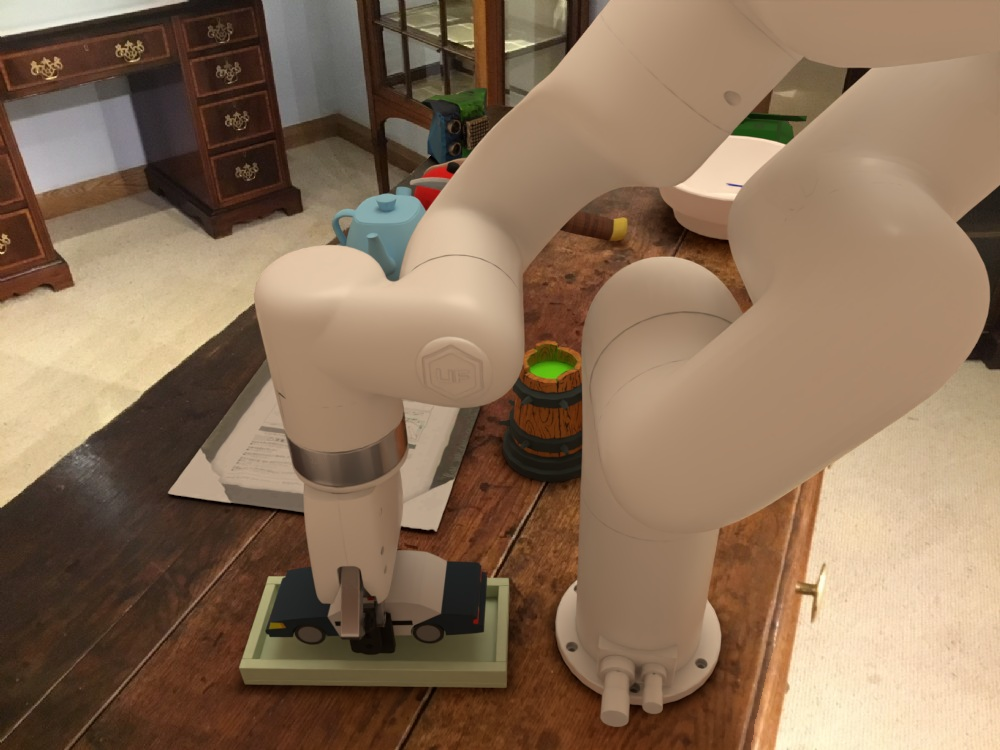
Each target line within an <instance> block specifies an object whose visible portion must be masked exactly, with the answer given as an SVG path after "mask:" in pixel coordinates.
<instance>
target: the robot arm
mask: <svg viewBox="0 0 1000 750" xmlns="http://www.w3.org/2000/svg"><path fill="white" fill-rule="evenodd" d="M803 58H805V59H807V60H808V61H811V62H815V63H819V64H822V65H827V66H830V67H834V68H843V69H869V70H868V71H867V72H865V74H863V75H862V76H861V77H860V78H859V79H858V80H857V81H856V82H855V83H853V84H852V85H851V86H850V87H849V88H848V89H847V90H845V91H844V92H843V93H842V94H841V95H840V96H839V97H838V98H837V99H835V100H834V101H833V102H832V103H831V104H830V105H829V106H827V108H825V109H824V111H822V112H821V113H819V114H818V116H816V117H815V118H814V119H813V120H812V121H811V122H809V124H807V126H805V127H804V128H802V130H801V131H799V133H798V134H796V135H795V136H794V138H793V139H792V140H791V141H790V142H789V143H788V144H786V145H785V146H784V147H783V148H782V149H781V150H780V151H779V152H777V153H776V154H775V155H774V156H773V157H772V158H771V159H770V160H768V161H767V162H766V163H765V164H764V165H763V166H762V167H761V168H760V169H759V170H758V171H757V172H755V173H754V174H753V175H752V176H751V177H750V178H749V179H748V181H747V182H746V183H745V184H744V185H743V186H742V188H741V189H740V191H739V192H738V194H737V195H736V197H735V199H734V201H733V203H732V206H731V209H730V212H729V216H728V227H727V232H728V240H727V241H728V244H729V248H730V252H731V256H732V258H733V262H734V265H735V266H736V269H737V271H738V274H739V277H740V279H741V280H742V284H743V286H744V288H745V290H746V292H747V295H748V296H749V298H750V301H751V303H752V306H751V307H749V308H748V309H747V310H746V311H745V312H744V313H743V311H742V309H741V307H740V305H739V303H738V302H737V300H736V298H735V297H734V295H733V294H732V292H731V291H730V290H729V288H728V287H727V285H726V284H725V283H724V282H723V281H722V280H721V279H720V278H719V277H718V276H717V275H715V274H714V273H713V272H712V271H710V270H709V269H707V268H706V267H704V266H702V265H700V264H699V263H696V262H694V261H692V260H690V259H689V260H688V259H686V258H682V257H676V256H651V257H647V258H643V259H639V260H637V261H634V262H632V263H630V264H628V265H625V266H624V267H622V268H621V269H619V270H618V271H617V272H615V273H614V274H613V275H612V276H611V277H610V278H608V279H607V280H606V282H605V283H604V284H603V285H602V286H601V287H600V289H599V290H598V291H597V293H596V294H595V295H594V298H593V299H592V301H591V303H590V305H589V308H588V310H587V313H586V316H585V319H584V322H583V327H582V335H581V346H580V347H581V353H580V355H581V368H582V413H583V433H582V473H581V476H580V492H579V493H580V496H579V517H578V518H579V519H578V521H579V522H578V523H579V524H578V548H577V575H576V580H575V581H574V582H572V584H570V585H569V587H568V588H567V589H566V590H565V592H564V594H563V595H562V597H561V599H560V601H559V604H558V606H557V609H556V615H555V622H554V623H555V628H554V629H555V639H556V643H557V648H558V651H559V653H560V655H561V658H562V661H563V662H564V663H565V665H566V666H567V668H568V669H569V670H570V672H571V674H573V675H574V676H575V678H577V679H578V680H579V681H580V682H581V684H583V685H585V686H586V687H588V688H589V689H591V690H592V691H594V692H595V693H597V694H599V695H601V704H600V705H601V707H600V718H599V719H600V720H601V722H602V723H603V724H605V725H607V726H610V727H614V728H619V727H624V726H626V725H628V723H629V722H630V705H635V706H641V707H642V710H643V711H644V712H645V713H647V714H650V715H658V714H660V713H662V711H663V709H664V708H663V707H664V705H665V704H668V703H673V702H676V701H679V700H681V699H683V698H685V697H687V696H690V695H692V694H693V693H694V692H696V691H697V690H698V689H700V688H701V687H702V686H703V685H704V684H706V681H707V680H708V679H709V678H710V676H711V675H712V674H713V672H714V669H715V667H716V665H717V663H718V661H719V656H720V653H721V646H722V644H721V643H722V631H721V630H722V629H721V623H720V621H719V618H718V615H717V613H716V610H715V609H714V607H713V606H712V603H711V602H710V601H709V599H708V596H709V590H710V585H711V580H712V573H713V569H714V563H715V557H716V551H717V546H718V540H719V535H720V529H723V528H725V527H728V526H731V525H734V524H735V523H738V522H740V521H742V520H744V519H747V518H748V517H750V516H752V515H755V514H756V513H758V512H760V511H761V510H763V509H765V508H767V507H769V506H770V505H772V504H773V503H775V502H776V501H778V500H779V499H781V498H782V497H784V496H785V495H787V494H789V493H790V492H791V491H793V490H795V489H796V488H798V487H799V486H801V485H802V484H804V483H805V482H807V481H808V480H810V479H811V478H813V477H814V476H816V475H817V474H819V473H820V472H822V471H823V470H825V469H827V468H828V467H829V466H832V464H834V463H835V462H837V461H839V460H840V459H841V458H843V457H844V456H846V455H847V454H849V453H850V452H853V450H855V449H856V448H858V447H859V446H861V445H862V444H864V443H865V442H867V441H869V440H870V439H872V438H873V437H874V436H876V435H877V434H879V433H881V432H882V431H883V430H885V429H887V428H888V427H889V426H891V425H892V424H893V423H895V422H897V421H898V420H900V419H901V418H903V417H904V416H906V415H907V414H908V413H910V412H911V411H913V410H914V409H915V408H917V407H918V406H919V405H921V404H922V403H924V402H925V401H926V400H928V399H930V398H931V397H932V396H933V395H935V394H936V393H937V392H938V391H939V390H940V389H942V388H943V387H944V385H946V384H947V383H948V381H950V380H951V378H953V376H954V375H955V374H956V373H957V372H958V371H959V369H960V368H961V367H962V365H963V364H964V363H965V362H966V360H967V359H968V357H969V356H970V355H971V353H972V352H973V349H975V347H976V344H978V341H979V339H980V338H981V335H982V333H983V331H984V328H985V326H986V322H987V318H988V315H989V309H990V303H991V285H990V280H989V279H990V278H989V274H988V271H987V268H986V264H985V263H984V261H983V259H982V257H981V255H980V253H979V251H978V249H977V247H976V245H975V243H974V242H973V241H972V240H971V238H970V237H969V236H968V234H966V232H965V231H964V230H963V229H962V227H960V225H959V224H958V223H957V222H959V220H961V219H962V218H963V217H964V216H965V215H966V214H968V212H970V211H971V210H973V208H975V207H976V206H977V205H978V204H979V203H980V202H982V201H983V200H984V199H985V198H987V197H988V196H989V195H990V194H991V193H992V192H994V191H995V190H996V189H997V188H998V187H999V186H1000V0H609V1H608V2H607V4H606V5H605V6H604V7H603V9H602V10H601V11H600V12H599V13H598V14H597V16H596V17H595V19H593V21H592V23H590V25H589V27H587V29H586V30H584V33H582V35H581V36H580V37H579V38H578V40H577V41H576V43H574V45H573V46H572V47H571V48H570V50H569V51H568V52H567V54H565V56H564V57H563V58H562V59H561V61H560V62H559V63H558V65H557V66H556V67H555V68H554V69H553V70H552V71H551V72H550V73H549V74H548V75H547V76H546V77H545V78H544V79H543V80H541V81H540V82H539V83H538V84H536V85H535V86H534V87H533V88H532V89H531V90H530V91H529V92H528V93H527V94H526V95H525V96H524V97H523V98H522V99H521V100H520V101H519V102H518V103H517V104H516V105H515V106H514V107H513V108H512V109H510V111H508V112H507V113H506V114H505V115H504V116H503V117H502V118H500V120H498V122H497V123H495V125H493V127H491V129H490V131H489V132H488V133H487V134H486V135H485V137H484V138H483V139H482V140H481V141H480V142H479V143H478V145H477V146H476V147H475V148H474V149H473V151H472V152H471V153H470V155H469V156H468V157H467V158H466V160H465V161H464V162H463V164H462V165H461V166H460V167H459V169H458V170H457V171H456V173H455V174H454V175H453V177H452V178H451V179H450V181H449V182H448V183H447V184H446V186H445V187H444V188H443V190H442V191H441V192H440V194H439V195H438V196H437V198H436V199H435V200H434V202H433V203H432V204H431V206H430V207H429V208H428V210H427V211H426V213H425V214H424V216H423V217H422V218H421V220H420V221H419V223H418V225H417V226H416V228H415V230H414V232H413V234H412V235H411V237H410V240H409V242H408V245H407V247H406V251H405V254H404V258H403V262H402V266H401V270H400V276H399V280H398V281H394V282H392V281H389V280H388V279H387V278H386V276H385V273H384V271H383V270H382V268H381V266H380V265H379V263H378V262H377V261H376V260H374V259H373V258H372V257H371V256H370V255H368V254H366V253H365V252H362V251H360V250H357V249H354V248H351V247H347V246H339V245H337V244H321V245H311V246H307V247H302V248H299V249H295V250H292V251H290V252H287V253H285V254H283V255H281V256H279V257H278V258H276V259H274V260H273V261H272V262H270V263H269V264H268V265H267V266H266V267H265V268H264V269H263V270H262V272H261V273H260V274H259V276H258V278H257V280H256V282H255V286H254V293H253V301H254V308H255V314H256V318H257V322H258V326H259V331H260V335H261V339H262V344H263V347H264V352H265V355H266V358H267V360H268V364H269V369H270V373H271V377H272V381H273V385H274V390H275V394H276V398H277V402H278V407H279V411H280V415H281V419H282V423H283V428H284V431H285V436H286V440H287V444H288V448H289V453H290V457H291V462H292V466H293V470H294V472H295V474H296V475H297V477H298V478H299V479H300V480H301V481H302V482H303V483H304V512H303V514H304V516H303V517H304V526H305V534H306V542H307V550H308V555H309V562H310V567H311V568H312V573H313V579H314V584H315V590H316V594H317V597H318V599H319V600H320V602H322V603H324V604H325V603H326V604H333V603H334V601H335V598H336V596H337V593H338V591H339V588H340V585H341V639H344V640H350V645H351V650H352V651H353V652H355V653H363V654H366V655H377V654H379V653H394V652H395V647H396V642H395V636H394V630H393V624H392V618H391V613H388V612H386V609H385V599H386V598H387V596H388V594H389V590H390V586H391V581H392V575H393V570H394V564H395V559H396V553H397V550H402V548H399V546H400V535H401V530H402V529H401V528H402V526H401V523H402V515H403V488H402V479H401V472H400V468H401V467H402V466H403V464H404V462H405V461H406V458H407V456H408V451H409V446H408V436H407V428H406V420H405V412H404V405H403V399H405V400H410V401H414V402H419V403H424V404H430V405H435V406H442V407H452V408H469V407H478V406H481V407H482V406H486V405H489V404H492V403H494V402H496V401H498V400H499V399H501V398H503V397H504V396H505V395H506V394H507V393H508V392H509V391H510V390H511V389H513V385H514V384H515V382H516V381H517V379H518V377H519V375H520V372H521V370H522V366H523V361H524V354H525V348H526V347H525V346H526V343H525V342H526V341H525V339H526V337H525V309H524V279H523V278H524V274H525V272H526V271H527V269H528V268H529V266H530V265H531V264H532V263H533V262H534V260H535V259H536V258H537V257H538V255H539V254H540V253H541V252H542V251H543V250H544V249H545V247H547V245H548V244H549V243H550V242H551V240H552V239H554V237H555V236H556V235H557V233H559V231H561V230H560V229H561V228H562V227H563V226H564V225H565V224H566V223H567V222H568V221H569V220H570V219H571V218H572V217H573V216H574V215H575V214H576V213H577V212H578V211H581V210H582V209H583V208H585V207H586V206H587V205H588V204H589V203H591V202H592V201H594V200H596V199H597V198H598V197H600V196H602V195H605V194H607V193H609V192H611V191H614V190H618V189H621V188H627V187H640V188H644V187H646V188H657V189H659V188H668V187H673V186H676V185H679V184H681V183H683V182H685V181H686V180H687V179H689V178H690V177H691V176H692V175H693V174H694V173H695V172H696V171H697V170H698V169H699V168H700V167H701V166H702V165H703V164H704V163H705V161H706V160H707V159H708V158H709V157H710V156H711V155H712V154H713V153H714V152H715V150H716V149H717V148H718V147H719V146H720V145H721V144H722V143H723V142H724V141H725V140H726V139H727V138H728V137H729V136H730V134H731V133H732V132H733V130H734V129H735V128H736V127H737V126H738V125H739V124H740V123H741V122H742V121H743V120H744V119H745V118H746V117H747V116H748V115H749V114H750V112H753V111H754V110H755V108H756V107H757V106H758V105H759V104H760V103H761V102H762V101H763V100H765V98H766V97H767V96H768V95H769V94H770V93H771V92H772V90H774V88H775V87H776V86H777V85H779V84H780V82H781V81H782V80H783V79H784V78H785V77H786V76H787V75H788V74H789V73H790V72H791V71H792V69H793V68H795V66H797V64H798V63H800V62H801V61H802V59H803ZM363 598H374V608H363Z"/></svg>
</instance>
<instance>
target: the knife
mask: <svg viewBox="0 0 1000 750" xmlns="http://www.w3.org/2000/svg"><path fill="white" fill-rule="evenodd" d="M449 181H450V179H445V178H435V177H430V178H422V177H420V178H415V179H411V180H410V181H409V185H410V186H423V187H428V188H433V189H437V190H440V191H442V190H443V188H444V187H445V186H446V184H447V183H448V182H449ZM559 231H561V232H564V233H569V234H574V235H577V236H582V237H588V238H593V239H597V240H603V241H607V242H618V241H621V240H624V239H625V237H626V235H627V232H628V218H627V217H623V216H622V217H618V218H613V219H611V218H608V217H607V216H602V215H597V214H593V213H589V212H587V211H582V210H579V211H578V212H577V213H576V214H575V215H574V216H573V217H572V218H571V219H570V220H569V221H568V222H567V223H566V224H565V225H564V226H563V227H562V228H561V229H560V230H559Z"/></svg>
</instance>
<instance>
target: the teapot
mask: <svg viewBox="0 0 1000 750" xmlns="http://www.w3.org/2000/svg"><path fill="white" fill-rule="evenodd" d="M412 192H413V190H412V188H410V187H408V186H397V187H396V188H395V194H393V193H382V194H379V195H373V196H370V197H368V198H366V199H364V200H363V201H362V202H361V203H360V204H359V205H358V206H357V208H356V209H352V208H344V209H341V210H339V211H337V213H335V214H334V216H333V218H332V221H331V222H332V223H331V225H332V231H333V233H334V234H335V236H336V238H337V240H338V241H339V243H337V244H336V245H339V246H347V247H351V248H354V249H357V250H360V251H362V252H365V253H366V254H368V255H370V256H371V257H372V258H373V259H374V260H376V261H377V262H378V263H379V265H380V266H381V268H382V270H383V271H384V273H385V276H386V278H387V279H388V280H389V281H392V282H394V281H398V280H399V276H400V270H401V266H402V262H403V258H404V254H405V251H406V247H407V245H408V242H409V240H410V237H411V235H412V234H413V232H414V230H415V228H416V226H417V225H418V223H419V221H420V220H421V218H422V217H423V216H424V214H425V213H426V210H425V209H424V207H423V205H422V204H421V202H420V201H419V200H418V199H417V198H415V197H414V195H412V194H413V193H412ZM342 218H352V219H351V222H350V226H349V228H348V232H347V237H346V236H345V233H344V232H343V230H342V228H341V225H340V219H342Z"/></svg>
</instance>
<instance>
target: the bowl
mask: <svg viewBox="0 0 1000 750" xmlns="http://www.w3.org/2000/svg"><path fill="white" fill-rule="evenodd" d="M784 146H785V144H782V143H779V142H775V141H771V140H766V139H761V138H754V137H747V136H731V135H730V136H729V137H728V138H727V139H726V140H725V141H724V142H723V143H722V144H721V145H720V146H719V147H718V148H717V149H716V150H715V152H714V153H713V154H712V155H711V156H710V157H709V158H708V159H707V160H706V161H705V163H704V164H703V165H702V166H701V167H700V168H699V169H698V170H697V171H696V172H695V173H694V174H693V175H692V176H691V177H690V178H689V179H687V180H686V181H685V182H683V183H681V184H679V185H676V186H673V187H668V188H658V190H659V194H660V197H661V198H662V200H663V201H664V203H665V204H667V206H669V207H670V208H671V209H672V211H673V215H674V218H675V220H676V221H677V223H678V224H680V225H681V226H682V227H684V228H685V229H687V230H689V231H690V232H693V233H695V234H698V235H701V236H704V237H708V238H711V239H712V238H713V239H718V240H727V241H729V240H728V232H727V227H728V216H729V212H730V209H731V206H732V203H733V201H734V199H735V197H736V195H737V194H738V192H739V191H740V189H741V188H742V187H735V186H728V185H727V184H726V183H729V184H736V185H742V186H743V185H744V184H745V183H746V182H747V181H748V179H749V178H750V177H751V176H752V175H753V174H754V173H755V172H757V171H758V170H759V169H760V168H761V167H762V166H763V165H764V164H765V163H766V162H767V161H768V160H770V159H771V158H772V157H773V156H774V155H775V154H776V153H777V152H779V151H780V150H781V149H782V148H783V147H784Z"/></svg>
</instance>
